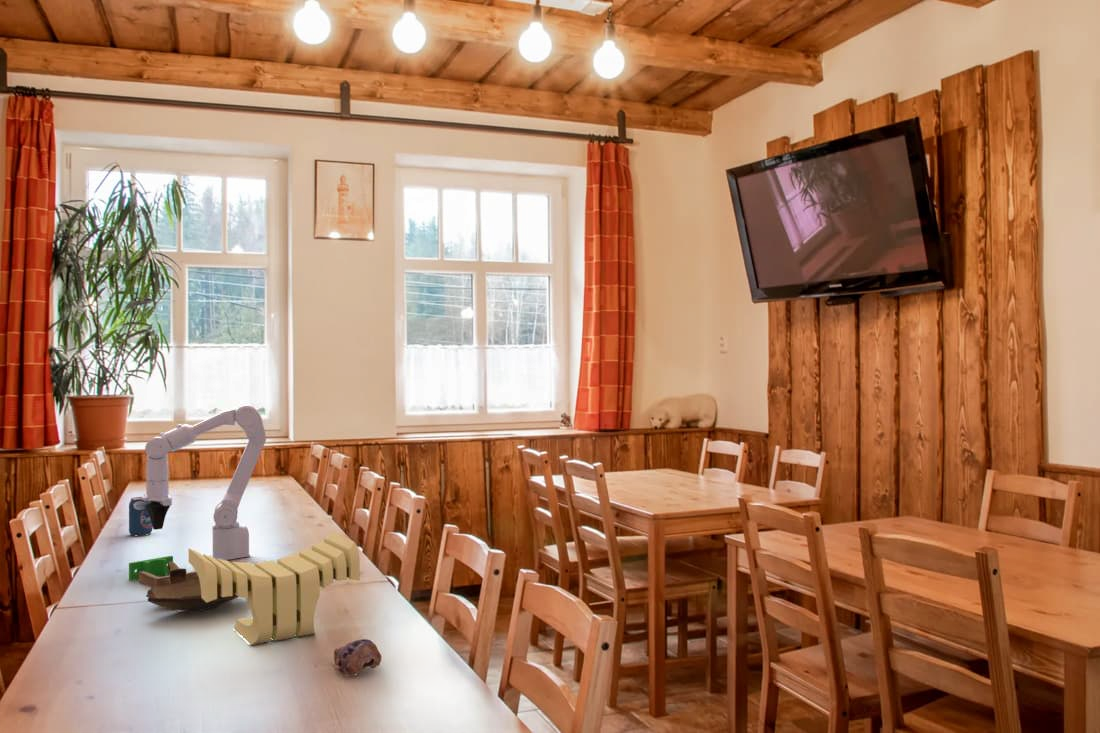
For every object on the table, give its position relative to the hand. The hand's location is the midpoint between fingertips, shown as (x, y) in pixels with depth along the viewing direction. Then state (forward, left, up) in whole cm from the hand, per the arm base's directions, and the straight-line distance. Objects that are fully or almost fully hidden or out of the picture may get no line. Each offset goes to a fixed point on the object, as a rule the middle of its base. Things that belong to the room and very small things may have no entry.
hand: (157, 528), depth 246 cm
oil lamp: (+11, +52, -10) cm, 54 cm away
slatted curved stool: (+10, +85, -10) cm, 86 cm away
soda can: (-13, -47, -10) cm, 50 cm away
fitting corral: (+3, +24, -9) cm, 26 cm away
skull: (+11, +115, -10) cm, 116 cm away
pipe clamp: (+8, +16, -10) cm, 20 cm away
